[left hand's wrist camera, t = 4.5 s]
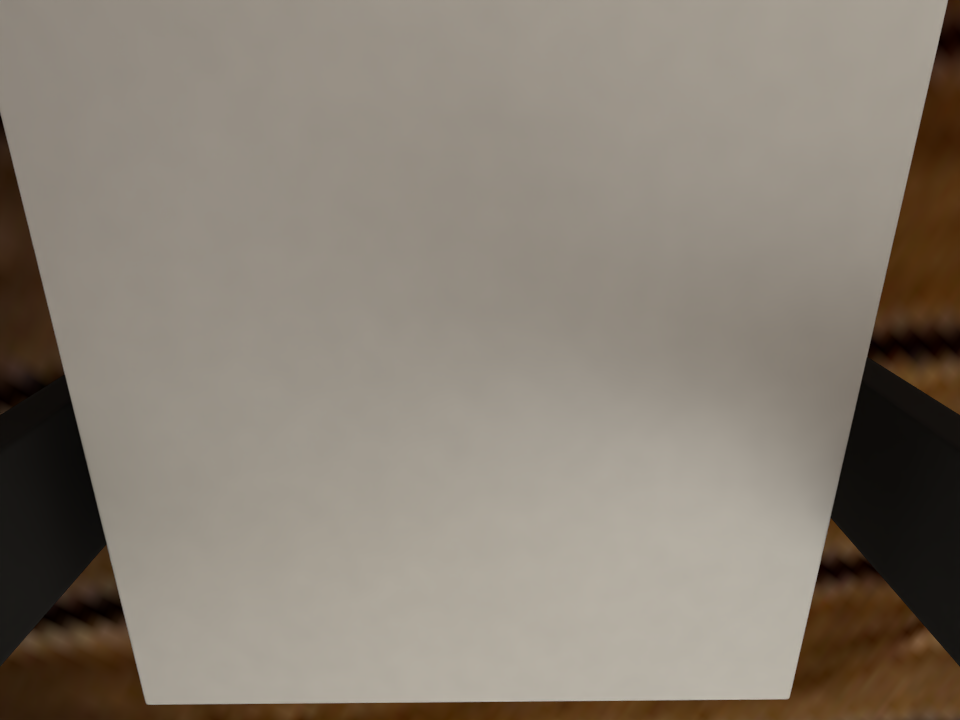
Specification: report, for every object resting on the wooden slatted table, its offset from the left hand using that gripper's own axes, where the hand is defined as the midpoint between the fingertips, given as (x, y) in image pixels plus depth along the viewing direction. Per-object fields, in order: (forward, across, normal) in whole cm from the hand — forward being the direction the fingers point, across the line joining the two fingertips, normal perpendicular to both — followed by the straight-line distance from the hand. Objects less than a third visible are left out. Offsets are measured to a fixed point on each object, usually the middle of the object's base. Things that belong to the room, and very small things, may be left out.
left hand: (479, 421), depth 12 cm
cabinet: (+8, 0, -6) cm, 10 cm away
